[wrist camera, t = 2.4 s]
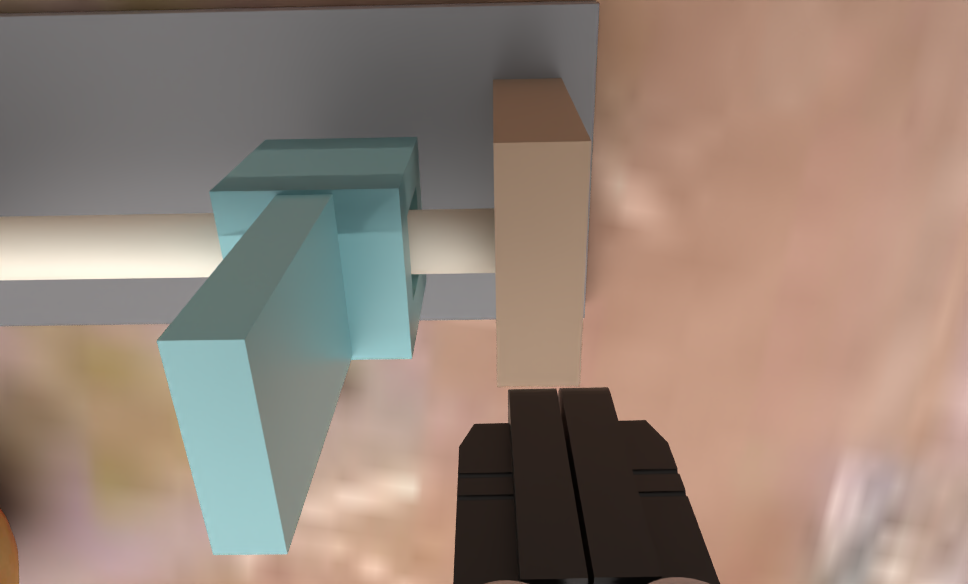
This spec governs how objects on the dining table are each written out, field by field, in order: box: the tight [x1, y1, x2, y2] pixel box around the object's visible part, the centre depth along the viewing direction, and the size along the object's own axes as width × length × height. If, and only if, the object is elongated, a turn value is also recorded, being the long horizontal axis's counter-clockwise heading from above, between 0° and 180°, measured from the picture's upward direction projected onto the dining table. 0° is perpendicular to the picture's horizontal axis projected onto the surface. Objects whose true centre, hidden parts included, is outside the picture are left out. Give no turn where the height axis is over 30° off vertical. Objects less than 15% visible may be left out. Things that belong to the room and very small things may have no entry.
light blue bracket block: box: [157, 137, 426, 555], centre depth 15 cm, size 4×4×10 cm
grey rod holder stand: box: [0, 1, 599, 387], centre depth 19 cm, size 26×10×8 cm, turn 91°
